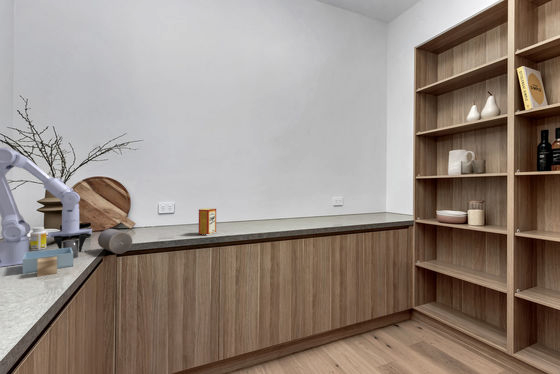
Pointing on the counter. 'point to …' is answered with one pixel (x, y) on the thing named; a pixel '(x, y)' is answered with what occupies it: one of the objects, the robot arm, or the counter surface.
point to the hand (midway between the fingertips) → (70, 252)
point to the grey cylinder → (72, 246)
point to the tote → (32, 257)
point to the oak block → (47, 266)
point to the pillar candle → (115, 241)
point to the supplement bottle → (38, 239)
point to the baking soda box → (207, 220)
